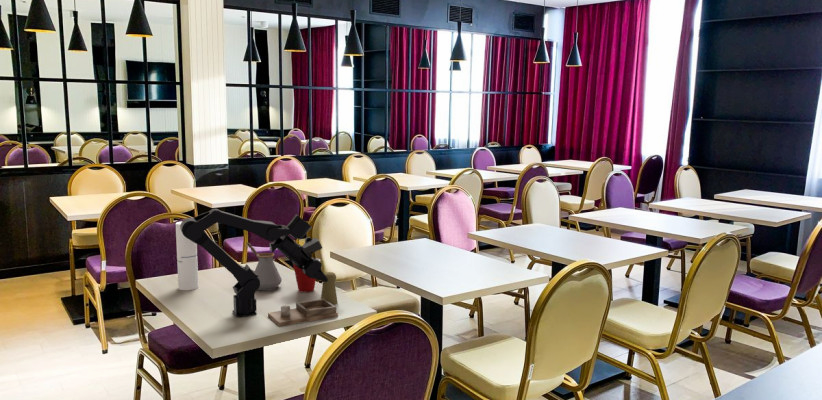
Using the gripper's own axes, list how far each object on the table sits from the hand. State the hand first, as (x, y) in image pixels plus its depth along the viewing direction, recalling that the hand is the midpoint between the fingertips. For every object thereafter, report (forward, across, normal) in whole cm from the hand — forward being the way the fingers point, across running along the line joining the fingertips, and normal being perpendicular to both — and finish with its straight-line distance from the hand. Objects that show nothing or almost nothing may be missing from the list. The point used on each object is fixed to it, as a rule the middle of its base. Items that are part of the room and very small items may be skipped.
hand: (323, 277), depth 219 cm
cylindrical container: (-23, +39, +36) cm, 57 cm away
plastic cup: (+6, +19, +8) cm, 21 cm away
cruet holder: (-1, -10, +14) cm, 17 cm away
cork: (+8, 0, +6) cm, 10 cm away
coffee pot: (-4, +32, +18) cm, 37 cm away
